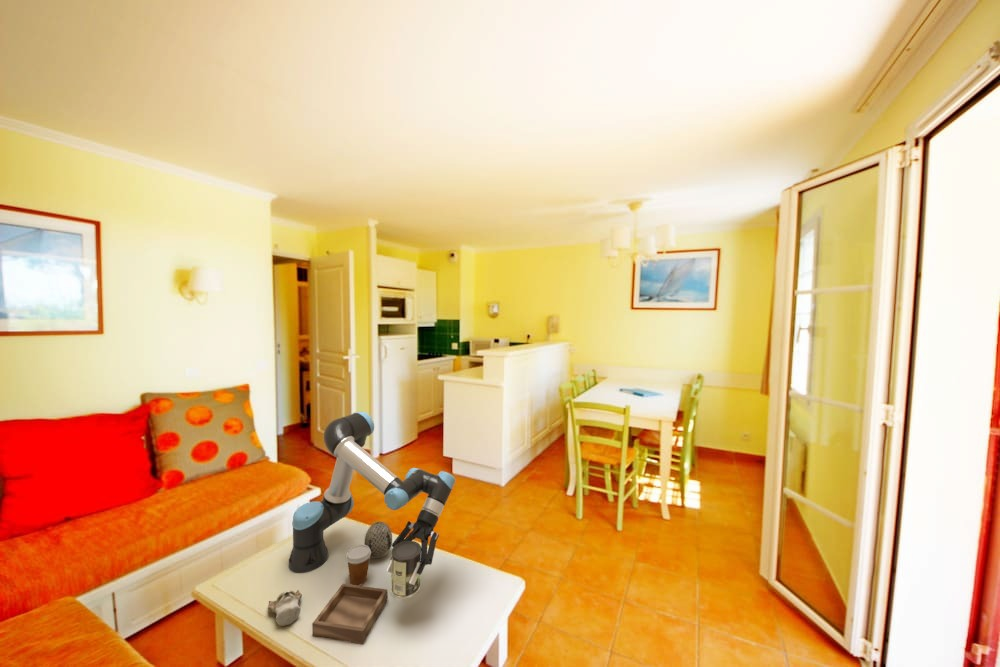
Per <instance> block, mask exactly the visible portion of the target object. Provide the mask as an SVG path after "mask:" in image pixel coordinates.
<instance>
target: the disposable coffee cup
mask: <svg viewBox="0 0 1000 667" xmlns="http://www.w3.org/2000/svg"><path fill="white" fill-rule="evenodd" d="M370 555H371V550H370V548H369V547H368V546H367V545H364V544H358V545H355V546H352V547H350V548H349V550H348V551H347V552H346V555H345V561H346V562H347V568H348V575H349V581H350V584H351V585H358V586H362V585H363V584H364V583H366V582H367V580H368V574H369V565H370V560H371V559H370V558H371V557H370Z"/></svg>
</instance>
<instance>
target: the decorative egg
mask: <svg viewBox="0 0 1000 667" xmlns="http://www.w3.org/2000/svg"><path fill="white" fill-rule="evenodd" d="M363 542H364V544H363V545H367V546H368V547H369V548H370V550H371V555H370V558H373V559H379V558H382V557H384V556H386V555H387V554H388V553H389V551H390V550H391V549H392V548H391V547H392V544H393V534H392V530H391V528H390V526H389V524H387V523H385V522H384V521H376V522H373V523H372V524H371V526H369V528H368V529H367V530H366V533H365V536H364V541H363Z"/></svg>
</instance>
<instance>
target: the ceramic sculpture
mask: <svg viewBox="0 0 1000 667" xmlns="http://www.w3.org/2000/svg"><path fill="white" fill-rule="evenodd" d="M302 595H303V594H302V593H301V592H300V590H299V589H297V590H296V591H294V590H290V589H289V590H286V591H283V592H281V593H280V594H279V595H278V596H277V597H276V600H273V601H272V600H269V601H268V605H267V609H268V611H270V612H271V613H273V614H276V617H275V622H276V623H277V624H278V625H279V627H284V626H289V625H291V624H292V623H293V622H296V620H297V619H298V618H299V615H300V613H301V606H299V603H300V601H301V599H302Z"/></svg>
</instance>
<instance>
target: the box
mask: <svg viewBox="0 0 1000 667" xmlns="http://www.w3.org/2000/svg"><path fill="white" fill-rule="evenodd" d="M388 591H389V590H388V589H387V588H381V587H379V588H378V587H374V586H373V587H370V586H366V585H365V586H364V585H352V584H351V583H350V584H349V583H342V584H341V585H340V587H338V589H337V591H335V593H334V595H332V597H331V599H329V601H328V602H327V603H326V604H325V606H324V607H323V608H322V610H321V611H320V613H319V614H318V615H317V617H316V618H315V619H314V620H313V622H312V623H311V627H312V628H311V629H312V630H311V631H312V637H315V638H316V637H317V638H322V639H326V640H327V639H329V640H334V641H335V640H336V641H340V642H345V643H347V642H348V643H353V644H360V645H364V644H365V641H366V640H367V638H368V636H369V634H370V632H371V631H372V629H373V627H374V626H375V624H376V622H377V620H378V619H379V617H380V615H381V614H382V611H383V610H384V608H385V606H386V604H387V603H388V595H389V594H388Z"/></svg>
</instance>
